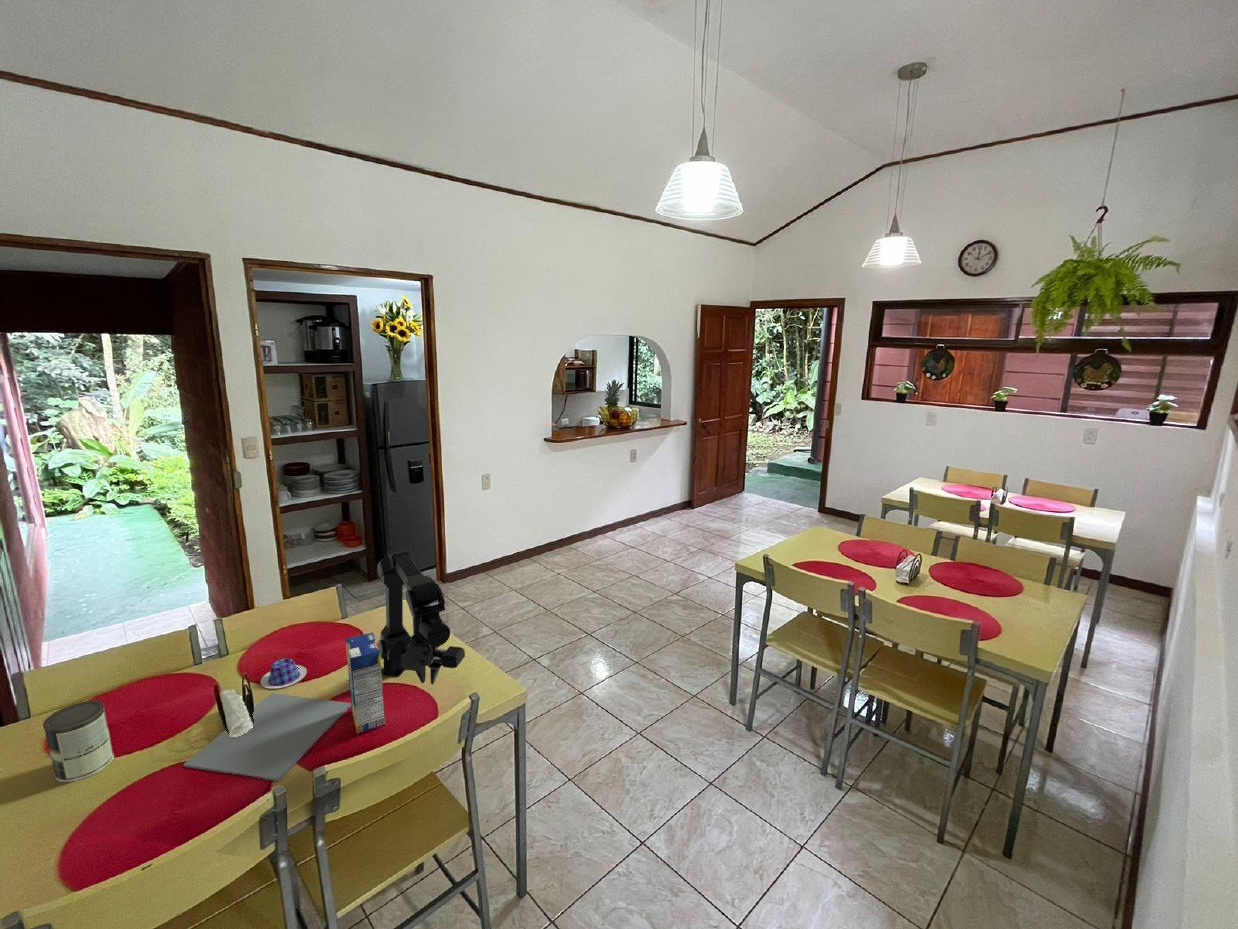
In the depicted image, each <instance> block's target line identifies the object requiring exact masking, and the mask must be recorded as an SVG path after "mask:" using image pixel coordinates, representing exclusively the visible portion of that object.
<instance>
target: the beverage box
mask: <svg viewBox="0 0 1238 929" xmlns="http://www.w3.org/2000/svg"><path fill="white" fill-rule="evenodd" d="M377 642H378V641H377V640H376V636H375V634H374V632H368V633H364V634H360V635H355V636H351V637H347V638H345V651H346V659H347V670H348V682H349V692H350V701H351V702H350V703H351V713H352V717H354V718H353V722H354V725H355V729H356V734H357V735H359V734H358V733H360V732H363V733H365V732H364V731H366V732H368V731H367V730H369V729H372V730H374V729H373V728H375V727H377V726H380V725H383V724H385V725H386V716H385V715H386V714H385V701H384V691H383V679H382V678H383V676H382V674H381V671H382V665H381V664H382V663H381V658H380V650H379V648H378V645H377V644H378V643H377ZM375 729H376V728H375ZM369 731H370V730H369ZM360 734H361V733H360Z"/></svg>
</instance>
